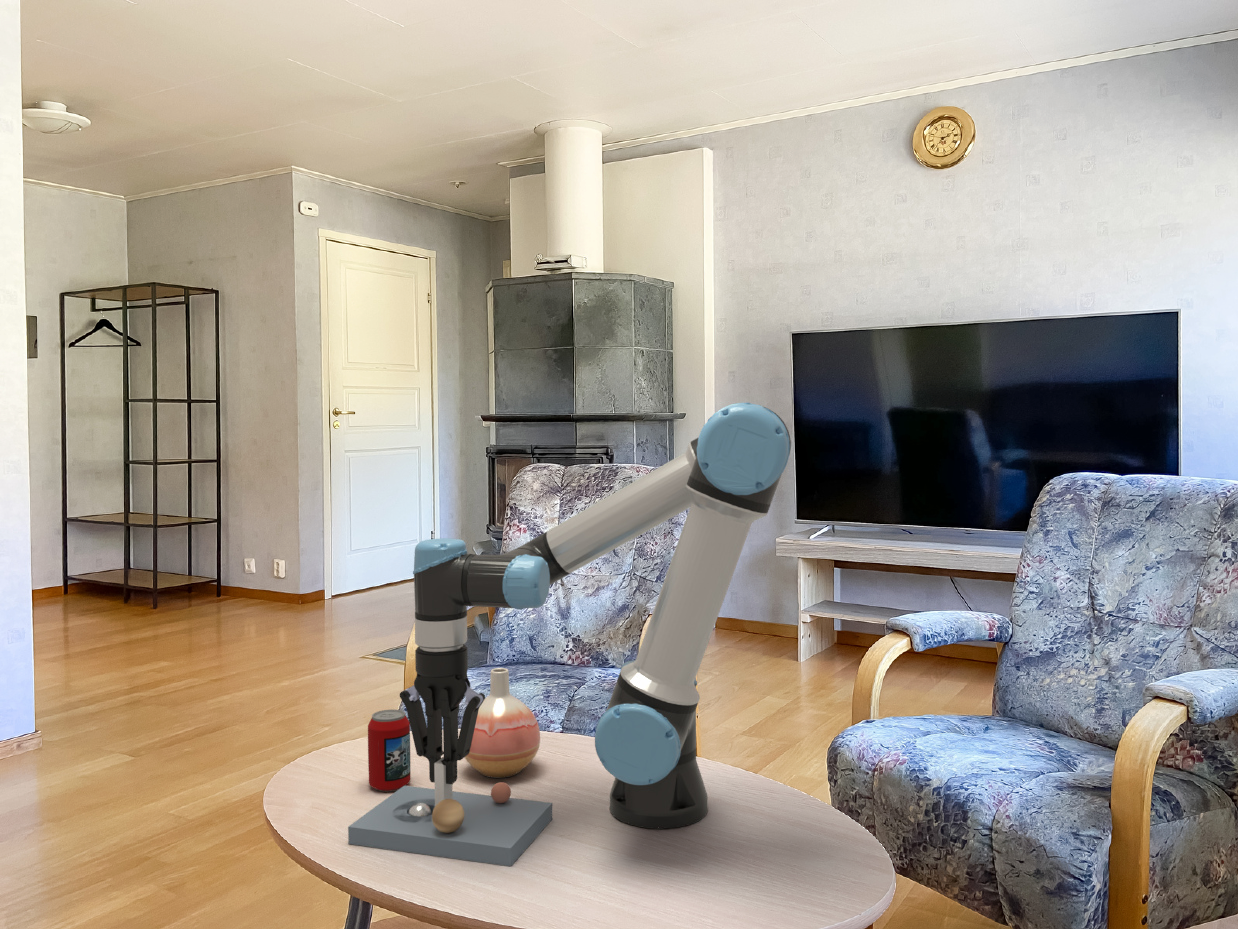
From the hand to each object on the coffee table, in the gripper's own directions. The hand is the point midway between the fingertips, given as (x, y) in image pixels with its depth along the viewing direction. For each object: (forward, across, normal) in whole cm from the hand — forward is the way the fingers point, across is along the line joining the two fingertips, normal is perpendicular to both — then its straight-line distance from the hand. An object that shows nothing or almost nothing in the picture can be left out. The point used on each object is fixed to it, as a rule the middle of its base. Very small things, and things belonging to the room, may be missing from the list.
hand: (443, 804), depth 142 cm
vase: (+4, +2, -24) cm, 24 cm away
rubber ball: (0, -6, -6) cm, 9 cm away
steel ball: (+2, +4, 0) cm, 5 cm away
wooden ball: (-1, -4, +6) cm, 7 cm away
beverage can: (+4, +16, -13) cm, 21 cm away
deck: (+4, -2, 0) cm, 4 cm away
